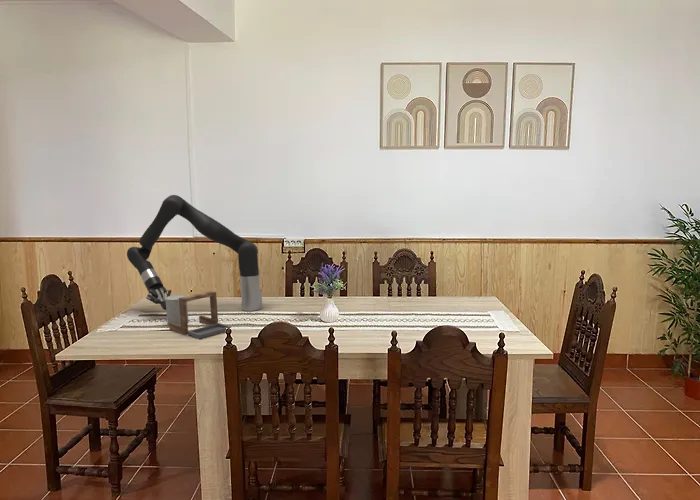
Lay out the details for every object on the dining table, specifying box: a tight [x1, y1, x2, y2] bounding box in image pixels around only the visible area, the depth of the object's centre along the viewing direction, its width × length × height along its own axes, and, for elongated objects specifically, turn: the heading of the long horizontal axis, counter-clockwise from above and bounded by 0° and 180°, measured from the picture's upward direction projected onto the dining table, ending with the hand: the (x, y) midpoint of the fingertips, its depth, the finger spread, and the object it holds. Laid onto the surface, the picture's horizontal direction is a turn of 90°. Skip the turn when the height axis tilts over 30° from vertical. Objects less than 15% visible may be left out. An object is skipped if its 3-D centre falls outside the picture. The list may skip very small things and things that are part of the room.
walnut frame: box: [168, 290, 219, 336], centre depth 280 cm, size 17×13×16 cm
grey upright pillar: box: [165, 294, 190, 326], centre depth 290 cm, size 10×10×12 cm
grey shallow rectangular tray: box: [187, 322, 232, 340], centre depth 273 cm, size 16×9×2 cm, turn 136°
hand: (166, 308), depth 296 cm, fingers closed
